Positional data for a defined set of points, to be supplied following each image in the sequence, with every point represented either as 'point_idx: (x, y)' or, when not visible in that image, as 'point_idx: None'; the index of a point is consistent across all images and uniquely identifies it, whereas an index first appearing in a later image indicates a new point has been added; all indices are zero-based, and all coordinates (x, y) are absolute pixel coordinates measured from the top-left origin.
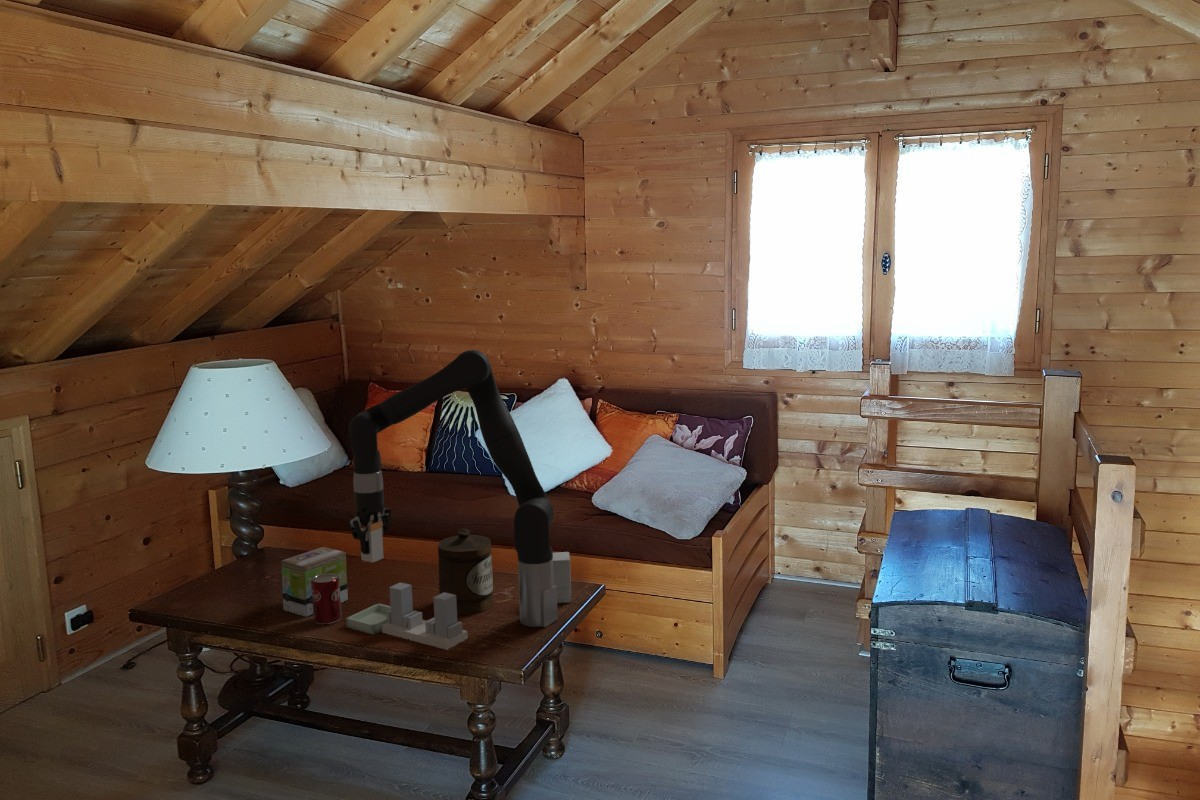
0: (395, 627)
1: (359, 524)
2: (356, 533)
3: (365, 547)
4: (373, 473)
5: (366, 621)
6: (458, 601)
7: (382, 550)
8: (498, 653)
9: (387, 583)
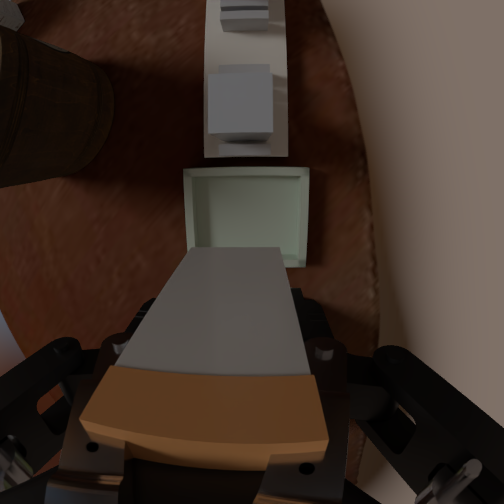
0: (280, 115)
1: (478, 464)
2: (383, 430)
3: (317, 318)
4: None
5: (266, 230)
6: (95, 76)
7: (185, 263)
8: None
9: (89, 346)
